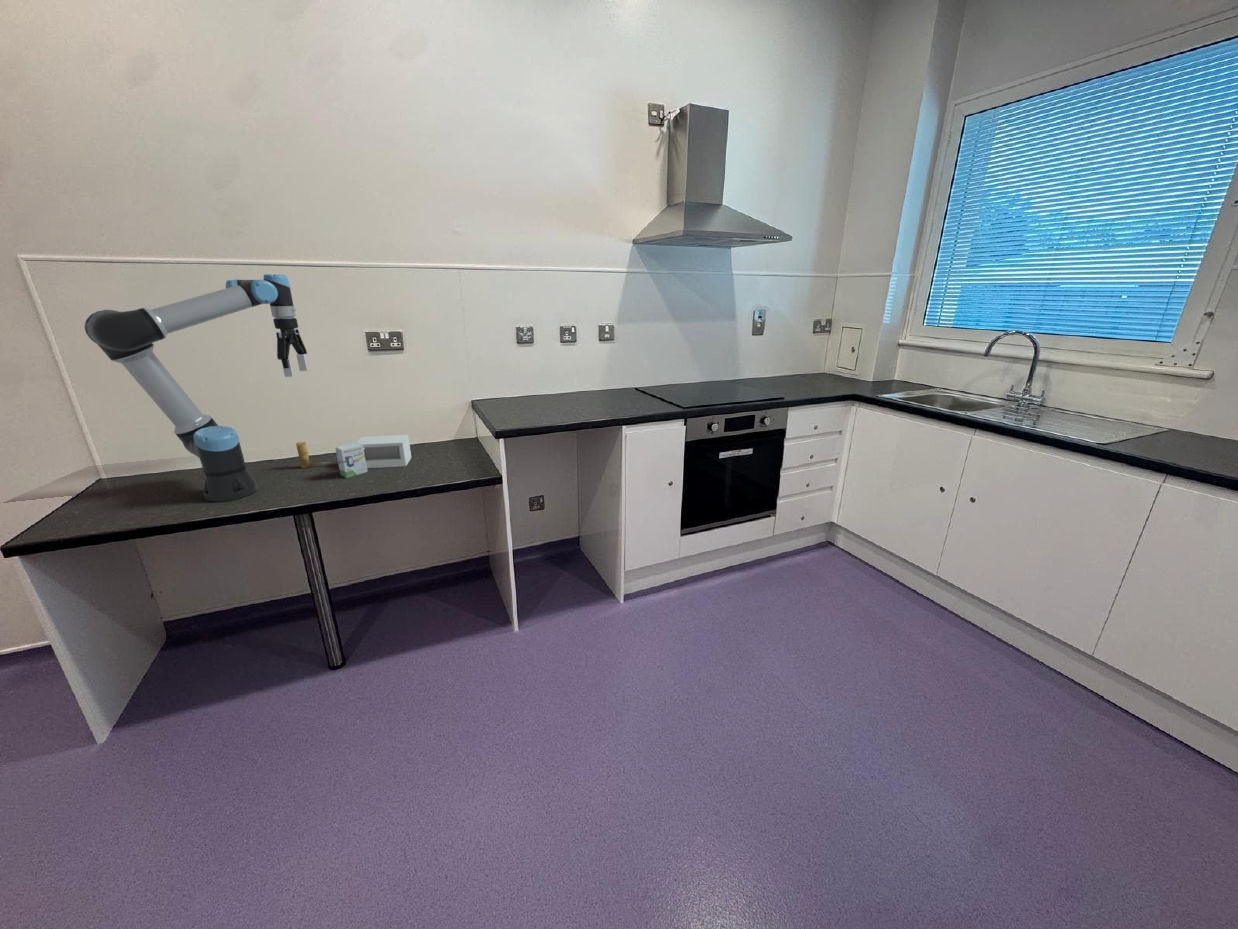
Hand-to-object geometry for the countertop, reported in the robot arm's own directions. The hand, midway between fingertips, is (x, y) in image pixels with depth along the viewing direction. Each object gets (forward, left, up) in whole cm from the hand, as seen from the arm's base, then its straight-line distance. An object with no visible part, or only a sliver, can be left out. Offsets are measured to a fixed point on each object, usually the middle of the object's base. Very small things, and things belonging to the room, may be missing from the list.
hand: (296, 373), depth 195 cm
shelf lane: (+29, -8, -37) cm, 47 cm away
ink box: (+20, -19, -37) cm, 46 cm away
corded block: (+8, -7, -36) cm, 38 cm away
